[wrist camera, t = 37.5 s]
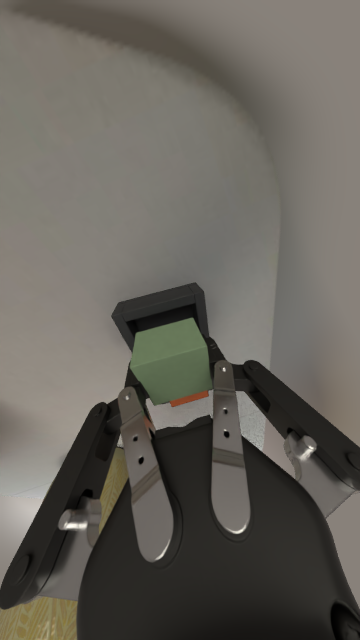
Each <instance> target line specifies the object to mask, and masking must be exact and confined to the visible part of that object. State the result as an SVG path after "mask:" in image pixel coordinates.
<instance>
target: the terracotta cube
mask: <svg viewBox="0 0 360 640" xmlns="http://www.w3.org/2000/svg"><path fill="white" fill-rule="evenodd" d="M208 396H209V395H208V390H207V391H203V392H200V393H197V394H193V395H190V396H186V397H183V398H179V399H176V400H173V401H169V402H170V404H171V406H172V407H174V406H178V405H181V404H184V403H188V402H191V401H194V400H198V399H201V398H204V397H208Z"/></svg>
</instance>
